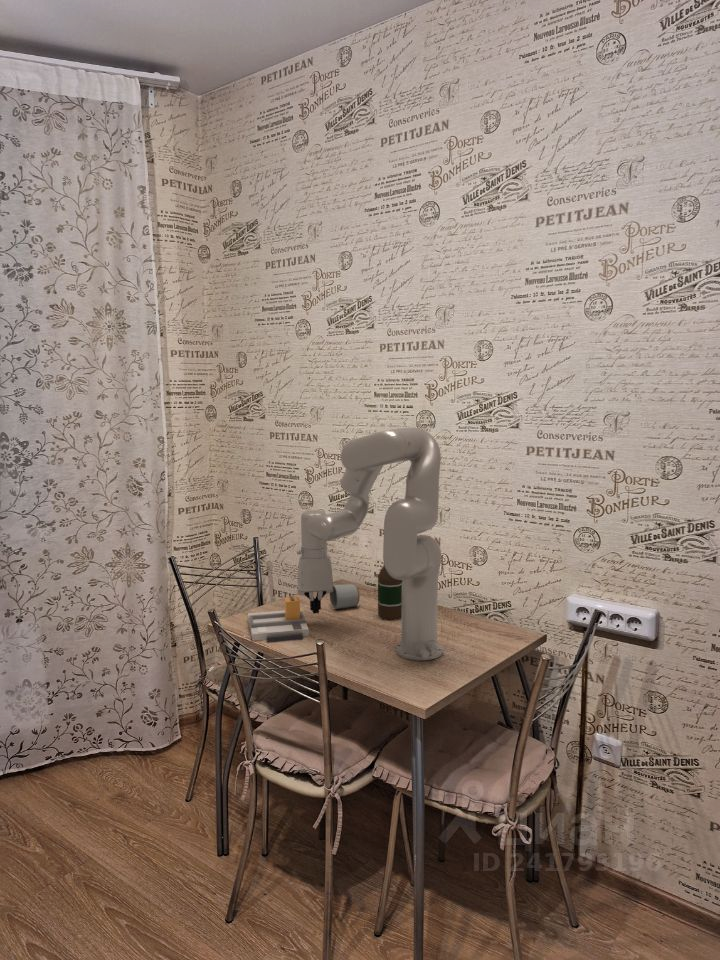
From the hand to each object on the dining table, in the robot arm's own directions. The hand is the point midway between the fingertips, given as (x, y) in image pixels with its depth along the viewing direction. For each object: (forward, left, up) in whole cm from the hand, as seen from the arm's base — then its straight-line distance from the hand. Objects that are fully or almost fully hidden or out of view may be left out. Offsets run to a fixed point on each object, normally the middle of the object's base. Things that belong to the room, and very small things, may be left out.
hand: (315, 612), depth 204 cm
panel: (0, +11, -4) cm, 12 cm away
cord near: (-11, +10, -4) cm, 15 cm away
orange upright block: (0, +7, -1) cm, 7 cm away
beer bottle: (+1, -24, -4) cm, 24 cm away
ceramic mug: (+15, -11, -4) cm, 19 cm away
